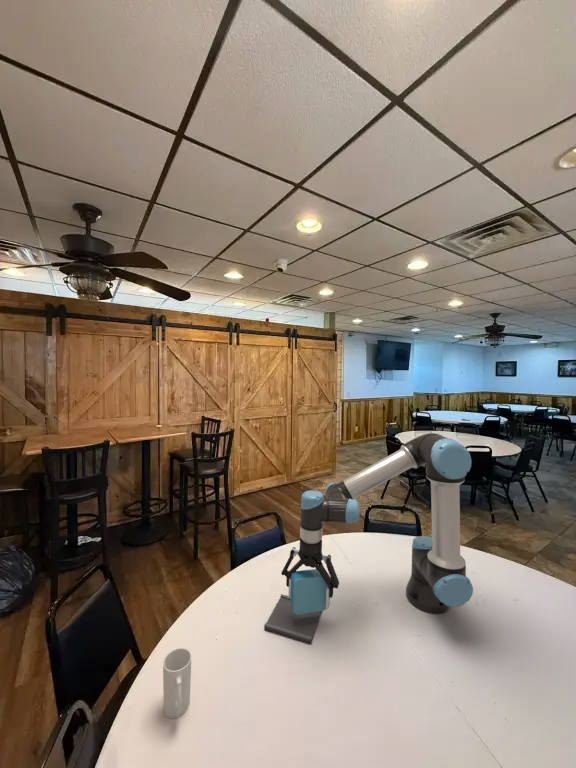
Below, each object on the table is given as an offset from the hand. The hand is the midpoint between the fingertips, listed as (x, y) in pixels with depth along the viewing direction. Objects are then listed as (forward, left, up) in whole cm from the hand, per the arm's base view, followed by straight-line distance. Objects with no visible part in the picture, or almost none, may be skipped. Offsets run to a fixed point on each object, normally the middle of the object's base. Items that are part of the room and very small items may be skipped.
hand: (309, 600), depth 109 cm
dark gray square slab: (+5, 0, -8) cm, 9 cm away
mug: (+23, +39, -8) cm, 46 cm away
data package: (0, 0, -3) cm, 3 cm away
